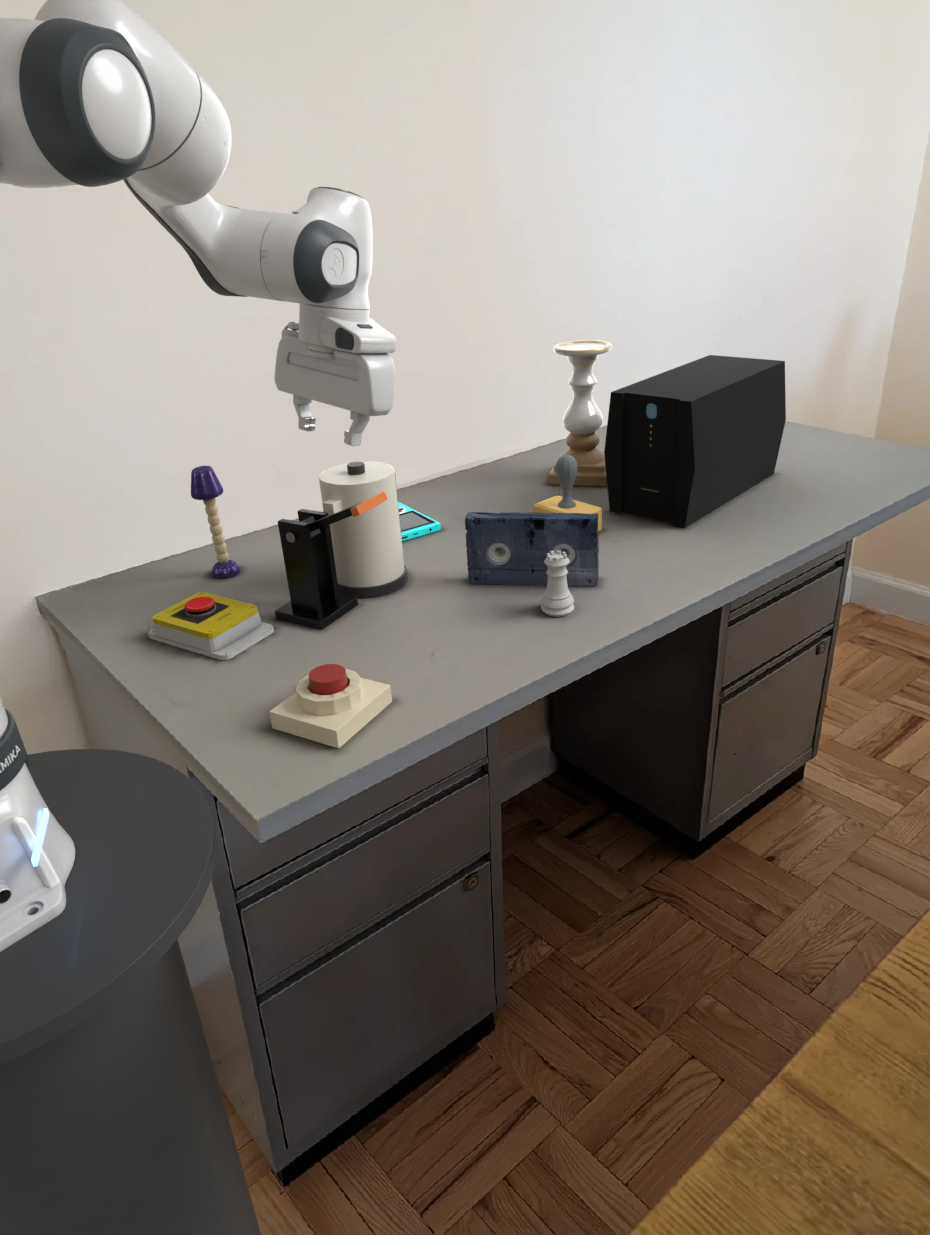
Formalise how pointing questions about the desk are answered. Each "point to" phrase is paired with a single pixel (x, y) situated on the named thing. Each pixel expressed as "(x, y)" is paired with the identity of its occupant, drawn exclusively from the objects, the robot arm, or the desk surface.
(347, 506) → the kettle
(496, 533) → the vhs cassette tape
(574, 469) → the rubber stamp
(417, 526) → the handheld game console
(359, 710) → the button block
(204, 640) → the emergency button
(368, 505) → the power lever
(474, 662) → the desk surface
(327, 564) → the switch bracket
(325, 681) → the button
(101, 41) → the robot arm
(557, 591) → the rook chess piece
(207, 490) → the toy lamp
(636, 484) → the uninterruptible power supply
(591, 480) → the candle holder
